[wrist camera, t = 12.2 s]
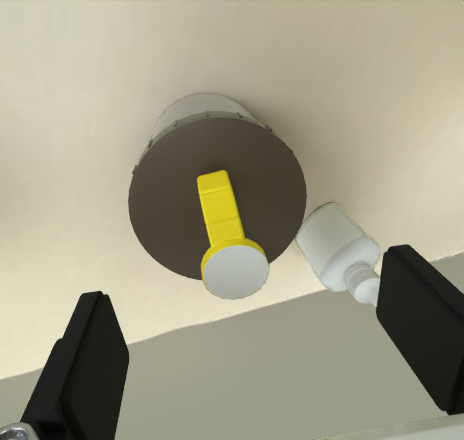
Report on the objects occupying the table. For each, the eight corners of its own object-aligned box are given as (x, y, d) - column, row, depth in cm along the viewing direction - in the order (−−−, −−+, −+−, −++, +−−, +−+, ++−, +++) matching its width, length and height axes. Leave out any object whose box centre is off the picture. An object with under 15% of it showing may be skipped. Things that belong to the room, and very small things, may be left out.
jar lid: (295, 98, 19) (307, 103, 17) (297, 252, 23) (306, 269, 21) (113, 121, 18) (105, 129, 16) (152, 274, 22) (149, 294, 21)
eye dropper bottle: (287, 218, 34) (335, 296, 23) (340, 196, 33) (414, 266, 23) (298, 251, 36) (348, 337, 25) (349, 232, 35) (420, 310, 25)
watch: (181, 164, 17) (180, 214, 12) (233, 151, 17) (255, 195, 12) (209, 258, 20) (218, 332, 15) (254, 247, 20) (279, 317, 15)
